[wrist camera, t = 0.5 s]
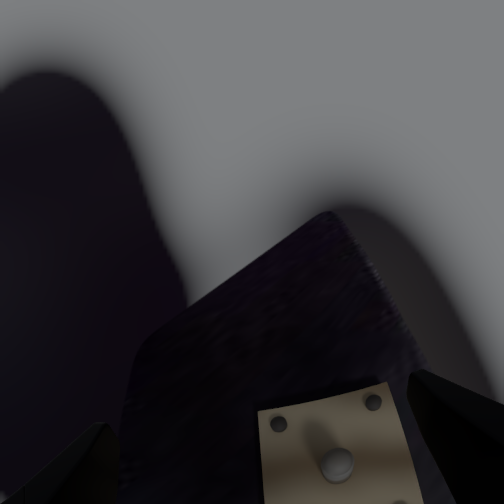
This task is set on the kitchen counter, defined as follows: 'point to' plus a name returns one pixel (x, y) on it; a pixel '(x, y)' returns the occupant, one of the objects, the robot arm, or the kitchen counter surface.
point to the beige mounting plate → (337, 452)
